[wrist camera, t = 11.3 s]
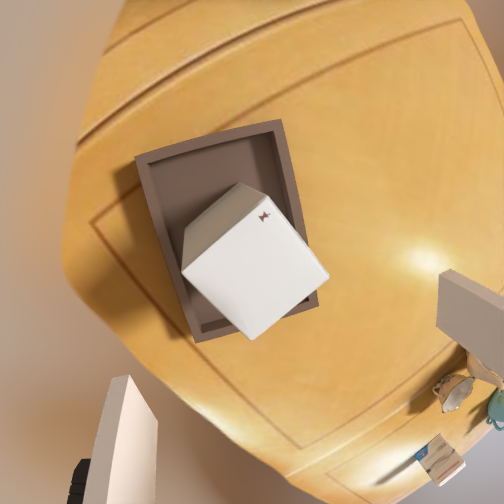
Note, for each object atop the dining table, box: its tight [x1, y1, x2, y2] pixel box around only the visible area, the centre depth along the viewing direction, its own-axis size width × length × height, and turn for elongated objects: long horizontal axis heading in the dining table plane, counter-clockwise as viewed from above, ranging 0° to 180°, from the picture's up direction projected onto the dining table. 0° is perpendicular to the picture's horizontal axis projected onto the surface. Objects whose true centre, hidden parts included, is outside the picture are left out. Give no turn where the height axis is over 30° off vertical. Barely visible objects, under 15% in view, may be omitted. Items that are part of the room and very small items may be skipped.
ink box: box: [415, 433, 466, 487], centre depth 51 cm, size 8×5×12 cm, turn 130°
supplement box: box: [181, 182, 330, 341], centre depth 26 cm, size 7×7×13 cm
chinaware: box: [432, 349, 504, 413], centre depth 41 cm, size 28×17×17 cm, turn 106°
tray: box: [134, 119, 319, 343], centre depth 31 cm, size 20×14×3 cm
